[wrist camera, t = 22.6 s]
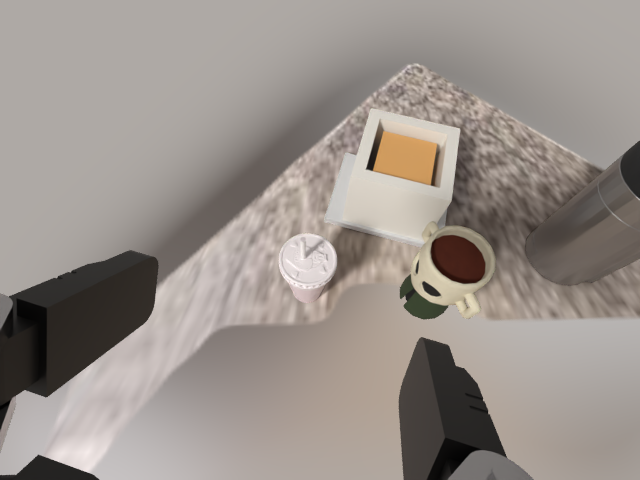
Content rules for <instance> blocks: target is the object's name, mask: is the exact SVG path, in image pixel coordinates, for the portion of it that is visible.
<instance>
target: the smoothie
mask: <svg viewBox="0 0 640 480" xmlns="http://www.w3.org/2000/svg"><path fill="white" fill-rule="evenodd" d="M279 267H280V271H281V273H282V275H283V277H284V278H285V279H286V280H287V282H289V285H290V287H291V289H292V291H293V293H294V295H295V297H296V298H297V299H298V300H299V301H301V302H304V303H310V302H313V301H315V300H316V299H317V298H318V297H319V296H320V294H321V292H322V290H323V288H324V286H325V284H326V283H327V282H328V281H330V280H331V278H332V277H333V275H334V274H335V271H336V268H337V254H336V251H335V249H334V247H333V245H332V244H331V243H330V242H329V241H328V240H327V239H326V238H324V237H322V236H320V235H317V234H313V233H303V234H299V235H296V236H294V237H292V238H290V239H289V240H288V241H287V242H286V243H285V244H284V245H283V247H282V249H281V251H280V254H279Z"/></svg>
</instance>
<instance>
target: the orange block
mask: <svg viewBox="0 0 640 480" xmlns="http://www.w3.org/2000/svg"><path fill="white" fill-rule="evenodd" d="M436 148H437V144H436V143H432V142H428V141H424V140H420V139H415V138H411V137H407V136H403V135H398V134H394V133H390V132H386V131H383V135H382V139H381V142H380V146H379V149H378V153H377V157H376V160H375V164H374V168H373V171H374V172H378V173H382V174H386V175H390V176H394V177H398V178H402V179H406V180H410V181H414V182H418V183H422V184H426V185H431V179H432V173H433V166H434V160H435V154H436Z"/></svg>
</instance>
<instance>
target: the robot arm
mask: <svg viewBox="0 0 640 480" xmlns="http://www.w3.org/2000/svg"><path fill="white" fill-rule="evenodd" d="M525 247H526V253H527V256H528V259H529V261H530V262H531V264H532V265H533V267H534V268H535V269H536V270H537V271H538V272H539V273H540V274H541V275H542V276H544V277H545V278H547V279H549V280H551V281H553V282H555V283H558V284H562V285H576V284H579V283H581V282H584V281H585V282H590V283H592V282H594V281H596V280H598V279H600V278H602V277H604V276H606V275H608V274H610V273H612V272H614V271H616V270H618V269H620V268H622V267H624V266H626V265H628V264H630V263H632V262H634V261H636V260H638V259H640V141H639V142H637V143H636V144H635V145H634V146H633V147H631V148H630V149H629V150H628V151H627V152H626V153H625V154H623V155H622V156H621V157H620V158H619V159H618V160H616V161H615V162H614V163H613V164H612V165H610V166H609V167H608V168H607V169H606V170H605V171H604V172H602V173H601V174H600V175H599V176H598V177H596V178H595V179H594V180H593V181H592V182H591V183H589V184H588V185H587V186H586V187H585V188H583V189H582V190H581V191H580V192H579V193H578V194H576V195H575V196H574V197H573V198H572V199H570V200H569V201H568V202H567V203H566V204H565V205H563V206H562V207H561V208H560V209H559V210H558V211H556V212H555V213H554V214H553V215H552V216H550V217H549V218H548V219H547V220H546V221H544V222H543V223H542V224H541V225H540V226H539V227H537V228H536V229H535V230H534V231H533V232H532V233H531V234H530V235H529V236H528V238H527V240H526V246H525ZM157 275H158V261H157V259H156V258H155V257H152V256H149V255H145V254H142V253H138V252H135V251H132V250H130V251H127V252H124V253H122V254H120V255H117V256H115V257H113V258H110V259H108V260H106V261H102V262H96V263H92V264H87V265H85V266H82V267H80V268H77V269H75V270H73V271H72V272H71V273H70V272H68V273H65V274H63V275H60V276H58V278H53V279H50V280H48V281H46V282H43V283H41V284H38V285H36V286H33V287H31V288H29V289H26V290H24V291H21V292H19V293H16V294H14V295H12V296H9V297H8V296H5V295H3V294H0V452H1V449H2V446H3V442H4V440H5V437H6V434H7V431H8V428H9V425H10V422H11V419H12V416H13V413H14V410H15V406H16V395H18V394H19V393H21V392H22V391H24V390H27V391H30V392H32V393H35V394H38V395H41V396H44V397H48V396H49V395H51V394H52V393H53V392H54V391H56V390H57V389H58V388H60V387H61V386H62V385H64V384H65V383H66V382H67V381H69V380H70V379H72V378H73V377H74V376H76V375H77V374H78V373H80V372H81V371H82V370H84V369H85V368H86V367H87V366H89V365H90V364H91V363H93V362H94V361H95V360H97V359H98V358H99V357H101V356H102V355H103V354H105V353H106V352H107V351H109V350H110V349H111V348H113V347H114V346H115V345H116V344H118V343H119V342H120V341H122V340H123V339H124V338H126V337H127V336H128V335H130V334H131V333H132V332H134V331H135V330H136V329H138V328H139V327H140V326H142V325H143V324H144V323H145V322H146V321H147V320H148V318H149V317H150V315H151V313H152V311H153V308H154V303H155V293H156V284H157ZM399 418H400V431H401V444H402V445H401V447H402V461H403V474H404V475H403V476H404V480H533V479H532V477H531V476H530V475H528V473H526V472H525V471H524V470H523V469H522V468H521V467H519V466H518V465H517V464H515V463H514V462H513V461H511V460H509V459H508V458H507V456H506V454H505V452H504V449H503V446H502V444H501V441H500V439H499V436H498V434H497V432H496V429H495V427H494V424H493V422H492V419H491V417H490V415H489V414H488V409H487V407H486V404H485V402H484V401H483V397H482V394H481V392H480V389H479V387H478V384H477V383H476V382H475V381H474V379H473V378H472V377H471V376H470V375H469V373H468V372H467V371H466V370H465V369H464V368H461V367H457V366H456V365H455V362H454V359H453V356H452V353H451V350H450V348H449V346H448V345H446V344H443V343H439V342H436V341H433V340H430V339H426V338H423V337H421V338H420V339H419V340H418V342H417V345H416V347H415V350H414V352H413V355H412V358H411V360H410V363H409V366H408V369H407V371H406V375H405V377H404V379H403V382H402V386H401V390H400V395H399ZM0 480H99V479H98V478H96V477H95V476H94V475H92V474H90V473H87V472H84V471H81V470H79V469H76V468H73V467H71V466H68V465H65V464H62V463H60V462H57V461H54V460H51V459H49V458H46V457H43V456H40V455H38V456H37V457H35V458H34V459H33V460H32V461H31V462H30V463H29V464H28V465H27V466H26V467H24V468H23V469H22V470H21V471H20V472H19V473H18V474H17V475H0Z"/></svg>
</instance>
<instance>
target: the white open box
mask: <svg viewBox="0 0 640 480" xmlns="http://www.w3.org/2000/svg"><path fill="white" fill-rule="evenodd" d="M383 131H386V132H390V133H394V134H398V135H403V136H407V137H411V138H415V139H420V140H424V141H428V142H432V143H436V144H437V148H436V154H435V160H434V166H433V173H432V179H431V185H426V184H422V183H418V182H414V181H410V180H406V179H402V178H398V177H394V176H390V175H386V174H382V173H378V172H374V171H373V168H374V164H375V160H376V157H377V153H378V149H379V146H380V142H381V139H382V135H383ZM459 135H460V129H459V128H455V127H450V126H446V125H442V124H437V123H433V122H429V121H425V120H420V119H416V118H412V117H407V116H403V115H399V114H394V113H390V112H386V111H381V110H377V109H373V108H371V110H370V114H369V117H368V120H367V124H366V127H365V130H364V134H363V137H362V140H361V143H360V147H359V150H358V153H357V155H354V154H350V153H345V156H344V159H343V163H342V166H341V169H340V172H339V175H338V178H337V181H336V184H335V187H334V190H333V193H332V197H331V200H330V203H329V206H328V209H327V212H326V215H325V218H324V222H326V223H330V224H334V225H337V226H341V227H345V228H349V229H352V230H356V231H360V232H364V233H368V234H371V235H375V236H379V237H383V238H387V239H390V240H394V241H398V242H402V243H406V244H409V245H413V246H417V247H422V246H423V245H424V244H425V242H424V240H423V238H422V232H423V231H424V229H425V227H426V226H427V224H428V223H429V222H431V221H433V222H435V223H436V224H437V225H438V227H439V229H441V228H443V227H444V226H445V222H446V214H447V207H448V206H449V204H450V203H451V201H452V193H453V185H454V177H455V168H456V160H457V152H458V143H459ZM431 235H432V234H431Z"/></svg>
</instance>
